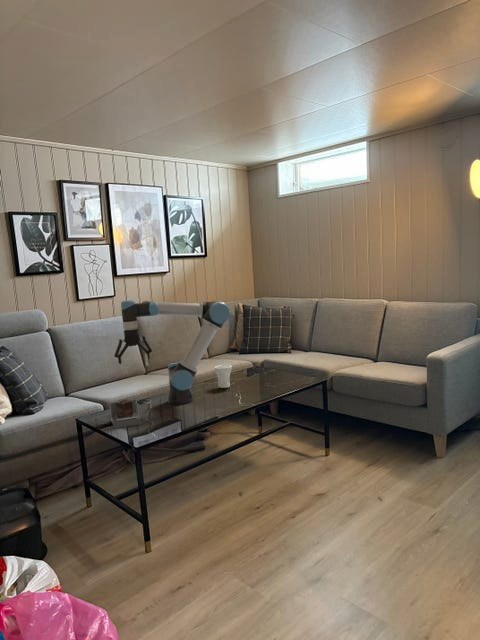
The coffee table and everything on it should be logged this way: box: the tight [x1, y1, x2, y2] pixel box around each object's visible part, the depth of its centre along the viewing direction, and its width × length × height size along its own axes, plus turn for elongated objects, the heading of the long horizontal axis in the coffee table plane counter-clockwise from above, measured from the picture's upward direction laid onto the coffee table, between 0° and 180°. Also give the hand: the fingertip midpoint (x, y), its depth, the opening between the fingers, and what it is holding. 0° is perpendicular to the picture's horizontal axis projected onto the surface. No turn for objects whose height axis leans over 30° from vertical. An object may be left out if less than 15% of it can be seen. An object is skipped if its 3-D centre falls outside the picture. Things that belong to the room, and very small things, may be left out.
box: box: [115, 399, 133, 417], centre depth 242 cm, size 6×6×7 cm
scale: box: [109, 398, 142, 429], centre depth 243 cm, size 13×14×10 cm
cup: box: [214, 364, 233, 389], centre depth 305 cm, size 11×11×14 cm
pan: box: [115, 412, 137, 421], centre depth 242 cm, size 10×9×1 cm
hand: (135, 367), depth 259 cm, fingers open, 13 cm apart
